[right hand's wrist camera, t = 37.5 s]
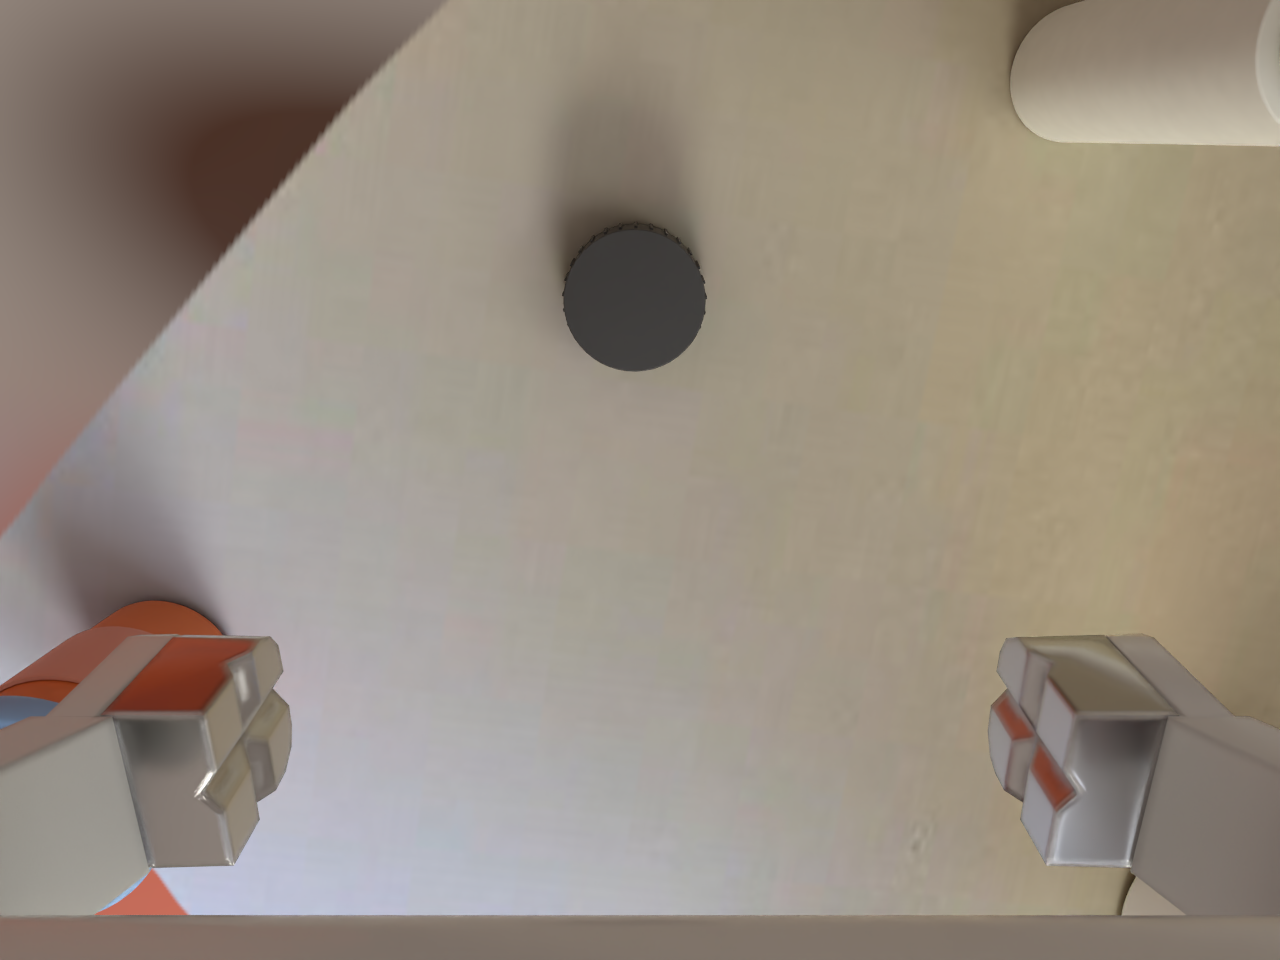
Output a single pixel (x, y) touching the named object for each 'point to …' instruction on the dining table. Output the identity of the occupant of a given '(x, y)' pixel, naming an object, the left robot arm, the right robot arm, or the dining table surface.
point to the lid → (634, 297)
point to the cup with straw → (91, 661)
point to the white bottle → (1152, 73)
